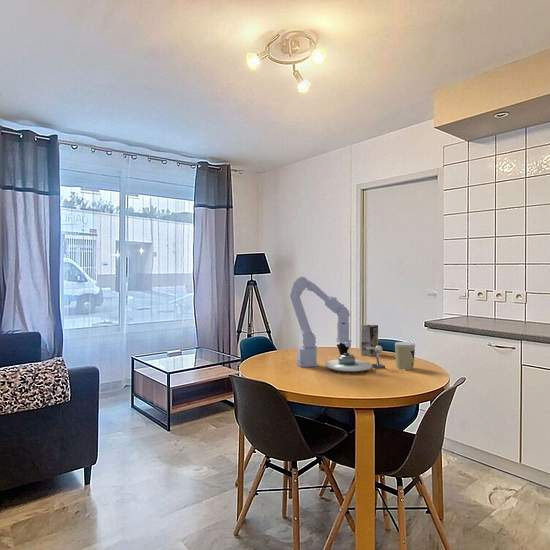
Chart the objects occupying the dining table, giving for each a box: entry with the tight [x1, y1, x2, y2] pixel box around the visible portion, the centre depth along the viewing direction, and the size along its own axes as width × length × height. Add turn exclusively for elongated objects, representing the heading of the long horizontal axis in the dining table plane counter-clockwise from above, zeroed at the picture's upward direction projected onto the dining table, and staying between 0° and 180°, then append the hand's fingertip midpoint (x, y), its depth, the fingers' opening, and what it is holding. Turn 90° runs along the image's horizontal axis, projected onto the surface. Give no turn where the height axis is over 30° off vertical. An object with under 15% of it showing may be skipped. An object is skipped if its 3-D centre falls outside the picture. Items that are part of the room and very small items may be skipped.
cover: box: [337, 352, 356, 365], centre depth 204 cm, size 8×8×5 cm
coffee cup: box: [394, 341, 416, 371], centre depth 204 cm, size 9×9×12 cm
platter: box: [324, 359, 373, 371], centre depth 203 cm, size 22×22×1 cm
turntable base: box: [329, 368, 368, 375], centre depth 203 cm, size 18×18×2 cm
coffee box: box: [360, 324, 379, 357], centre depth 236 cm, size 9×6×16 cm
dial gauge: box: [366, 344, 386, 370], centre depth 205 cm, size 8×5×11 cm, turn 101°
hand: (343, 358), depth 210 cm, fingers closed
